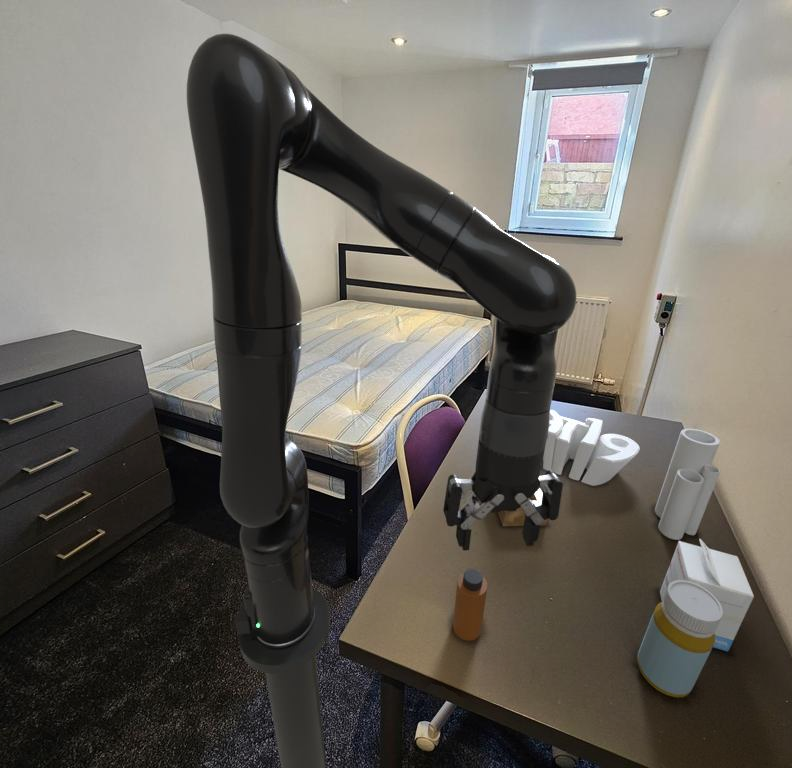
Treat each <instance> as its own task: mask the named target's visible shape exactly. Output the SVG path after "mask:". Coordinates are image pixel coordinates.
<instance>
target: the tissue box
mask: <svg viewBox="0 0 792 768" xmlns="http://www.w3.org/2000/svg"><path fill="white" fill-rule="evenodd" d="M698 540H699V544H700V545H697V544H693V543H688V542H685V541H681V540H678V542H677V544H676V548H675V550H674V553H673V555H672V558H671V561H670V563H669V566H668V568H667V571H666V574H665V577H664V579H663V582H662V585H661V588H660V590H659V595H660V600H661V602H662V601H663V599H664V595H665V592H666V590H667V587H668V585H669V584H670V583H671V582H673V581H675V580H686V581H690V582H693V583H696V584H698V585H700V586H702V587H703V588H705V589H706V590H708V591H709V592H710V593H712V594H713V595H714V596H715V597H716V598H717V600H718V601H719V602H720V604H721V606H722V609H723V616H722V619H721V621H720V623H719V625H718V627H717V629H716V631H715V643H714V646H713V648H714V649H718V650H721V651H724V652H729V651H730V649H731V647H732V644H733V642H734V640H735V638H736V637H737V634H738V631H739V629H740V628H741V625H742V624H743V621H744V619H745V617H746V615H747V613H748V611H749V608H750V606H751V604H752V602H753V600H754V597H755V595H754V593H753V590H752V587H751V586H750V583H749V581H748V578H747V576H746V574H745V573H746V572H745V571H744V568H743V566H742V564H741V561H740V559H739V557H738V556H737V555H734V554H730V553H727V552H723V551H719V550H716V549H712V548H709V547H708V546H707V545H706V543H705V542H704V541H703V540H702V539H701V538H698Z"/></svg>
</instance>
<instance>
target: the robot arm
mask: <svg viewBox="0 0 792 768" xmlns="http://www.w3.org/2000/svg"><path fill="white" fill-rule="evenodd" d="M187 72H188V73H187V78H186V79H187V80H186V109H187V117H188V123H189V130H190V136H191V142H192V146H193V152H194V157H195V163H196V168H197V175H198V179H199V185H200V192H201V198H202V204H203V210H204V217H205V227H206V228H205V229H206V238H207V250H208V251H207V252H208V259H209V270H210V280H211V281H210V282H211V296H212V297H211V298H212V299H211V300H212V322H213V335H214V349H215V355H216V365H217V378H218V381H217V382H218V393H219V394H218V395H219V405H220V416H221V454H220V469H219V496H220V501H221V503H222V505H223V508H224V510H225V511H226V513H227V514H228V515H229V517H230V518H232V520H234V521H235V522H236V523H238V524H239V525H240V529H239V533H238V534H239V535H238V536H239V546H240V551H241V556H242V562H243V568H244V573H245V579H246V580H245V581H246V585H247V586H246V588H245V591H244V594H243V598H242V601H241V604H240V607H239V609H238V613H237V614H236V616H235V617H234V619H233V622H232V626H233V628H234V629H235V630H236V632H237V635H238V634H250V636H251V640H257V641H259V642H260V644H262V645H263V646H265V647H267V648H270V649H285V648H289V647H291V646H293V645H295V644H297V643H299V642H300V641H301V640H303V639H304V638H305V637H306V636H307V635H308V633H309V632H310V630H311V629H312V627H313V624H314V620H315V610H314V603H313V593H312V588H313V584H312V573H311V564H310V563H311V562H310V551H309V550H310V549H309V539H308V522H309V521H308V520H309V515H310V497H309V496H310V495H309V494H310V493H309V477H308V475H309V474H308V467H307V462H306V459H305V456H304V454H303V453H304V452H302V450H301V449H300V447H299V446H298V445H297V444H296V443H295V442H294V441H293V440H291V439H289V438H288V437H287V436H286V432H287V424H288V419H289V415H290V411H291V407H292V403H293V398H294V395H295V390H296V385H297V381H298V377H299V372H300V371H299V370H300V365H301V357H302V336H303V334H302V333H303V330H302V328H303V311H302V307H303V306H302V299H301V294H300V290H299V287H298V283H297V280H296V277H295V273H294V271H293V267H292V266H291V263H290V260H289V257H288V254H287V251H286V249H285V245H284V242H283V237H282V233H281V227H280V219H279V174H280V173H279V172H280V171H283V172H285V173H287V174H289V175H293V176H295V177H297V178H299V179H302V180H303V181H306V182H308V183H311V184H312V185H315V186H316V187H319V188H320V189H322V190H323V191H326V192H327V193H329V194H331V195H332V196H334V197H335V198H337V199H339V200H340V201H341V202H343V203H344V204H345V205H347V206H348V207H350V208H351V209H352V210H353V211H354V212H356V213H357V214H358V215H359V216H360V217H361V218H363V219H364V220H365V221H366V222H367V224H369V225H370V226H372V227H373V228H374V229H375V230H376V231H377V232H378V233H379V234H380V235H381V236H383V237H384V238H385V239H386V240H388V242H390V243H392V244H393V245H394V246H395V247H397V249H399V250H401V251H402V252H403V253H404V254H406V255H408V256H410V257H411V258H413V259H414V260H416V261H417V262H418V263H420V264H422V265H424V266H425V267H427V268H428V269H429V270H431V271H433V272H434V273H437V275H439V276H440V277H443V278H444V279H446V280H448V281H449V282H452V283H453V284H454V285H456V286H457V287H459V288H460V289H461V290H462V291H463V292H464V293H465V294H467V295H468V297H470V299H472V300H473V301H474V302H476V303H477V304H478V305H479V306H481V307H482V308H483V309H484V310H485V311H487V312H488V313H489V314H491V315H492V316H493V317H494V318H495V331H494V346H493V347H494V348H493V352H492V356H491V359H490V360H491V361H490V365H489V371H488V376H487V384H486V394H485V401H484V405H483V409H482V412H481V419H480V425H479V435H478V445H477V450H476V451H477V452H476V460H475V469H474V473H473V475H472V476H471V478H459V477H458V475H457V474H450V475H449V476H448V478H447V483H446V491H445V496H444V501H443V502H444V503H443V508H442V509H443V511H442V512H443V514H444V517H445V523H446V526H448V527H454V526H456V529H455V530H456V531H455V538H456V541H457V544H458V547H461V548H462V551H463V552H464V551H466V552H467V551H470V546H471V537H472V526H474V524H475V523H476V522H477V521H478V520H479V521H482V520H483V519H484V518H485V517H486V516H487V515H489V513H490V512H491V513H498V512H500V511H504V510H505V511H516V509H518V508H520V507H522V509H523V510H524V511H525V512H526V515H525V520H524V526H522V533H521V537H522V539H523V541H524V543H525V546H526V547H533V546H534V543H536V542H537V541H538V539H539V537H540V531H541V524H542V523H543V522H544V520H546V519H547V520H550V521H556V520H557V519H558V518H559V513H560V508H561V507H560V506H561V502H562V501H561V500H562V494H563V487H564V483H563V482H562V480H561V479H560V478H559V476H558V474H556V473H555V472H554V471H553V470H549V471H548V470H546V472H545V474H544V475H541V471H542V467H543V462H544V461H543V456H544V451H545V446H546V440H547V438H548V430H549V421H550V410H551V406H552V400H553V396H554V391H555V385H556V384H555V383H556V379H557V359H556V349H555V348H556V342H557V337H558V333H559V330H560V329H561V328H562V327H564V325H566V324H567V322H568V321H569V320H570V319H571V317H572V316H573V314H574V312H575V308H576V303H577V288H576V284H575V282H574V279H573V277H572V276H571V274H570V272H569V271H568V270H567V269H566V268H565V267H564V266H563V265H562V264H560V263H559V262H558V260H556V259H554V258H552V257H551V256H549V255H546V254H543V253H540V252H538V251H537V250H535V249H533V248H532V247H530V246H529V245H527V244H526V243H524V242H522V241H521V240H519V239H517V238H515V237H513V236H512V235H511V234H509V233H507V232H505V231H504V230H502V229H501V228H500V227H499V226H498V225H497V224H496V223H495V222H494V221H493V220H492V219H490V218H489V217H488V216H487V215H486V214H485V213H484V212H482V211H481V210H479V209H478V208H476V207H475V206H473V205H472V204H471V203H469V202H468V201H466V200H465V199H463V198H461V197H460V196H459V195H457V194H455V193H454V192H452V191H451V190H449V189H448V188H446V187H445V186H443V185H442V184H440V183H439V182H437V181H435V180H433V179H432V178H431V177H428V176H427V175H425V174H423V173H421V172H420V171H418V170H416V169H414V168H412V167H411V166H409V165H408V164H405V163H404V162H402V161H401V160H399V159H397V158H395V157H393V156H391V155H390V154H388V153H386V152H385V151H383V150H381V149H380V148H378V147H377V146H375V145H374V144H372V143H371V142H369V141H368V140H367V139H365V138H364V137H362V136H361V135H359V134H358V133H357V132H355V130H353V129H352V128H351V127H350V126H348V125H347V124H346V123H345V122H344V121H342V120H341V119H340V118H339V117H338V116H337V115H336V114H335V113H334V112H332V110H330V109H329V108H328V107H327V106H326V105H325V104H324V103H323V102H322V100H320V99H319V98H318V97H317V96H316V95H315V94H314V93H312V91H311V90H310V89H308V88H307V87H306V85H305V84H304V83H303V82H302V81H301V80H300V78H299V77H298V76H297V74H296V73H295V72H294V71H292V70H291V69H290V68H288V66H287V65H285V64H283V63H282V62H280V61H279V60H278V59H277V58H275V57H274V56H272V55H271V54H269V53H268V52H266V51H265V50H263V48H261V47H260V46H258V45H257V44H255V43H253V42H252V41H249V40H247V39H246V38H243V37H242V36H240V35H235V34H233V33H218V34H214V35H212V36H210V37H208V38H207V39H205V41H203V42H202V43H201V44H200V45H199V46H198V48H197V49H196V51H195V53H193V57H192V58H191V61H190V65H189V67H188V71H187ZM539 488H540V489H541V490H542V493H543V496H542V503H541V505H540V506H537V507H536V506H535V504H534V503H533V502H532V500H531V499H530V498H531V497H532V496H533V495H534V494H535V493H536V492H537V491H538V490H539ZM469 491H472V492H471V493H470V494H469V495H468V496H467V498H466V497H465V496H466V495H467V493H468V492H469ZM465 498H466V501H465V502H464V503H463V504H462V506H461V507H460V505H461V500H464V499H465ZM480 503H481V505H480Z"/></svg>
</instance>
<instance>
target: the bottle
mask: <svg viewBox="0 0 792 768" xmlns="http://www.w3.org/2000/svg"><path fill="white" fill-rule="evenodd" d="M722 616H723V609H722V606H721V604H720V602H719V601H718V600H717V598H716V597H715V596H714V595H713V594H712V593H710V592H709V591H708V590H706V589H705V588H703V587H702V586H700V585H698V584H696V583H693V582H690V581H686V580H675V581H673V582H671V583H670V584H669V585H668V587H667V590H666V592H665V595H664V599H663V601H662V600H661V601H660V602H659V603H658V604H657V605H656V606H655V608H654V610H653V613H652V615H651V617H650V620H649V623H648V625H647V628H646V631H645V634H644V637H643V639H642V641H641V643H640V647H639V649H638V651H637V656H636V663H637V668H638V669H639V671H640V674H641V675H642V677H643V678H644V679H645V680H646V681H647V682H648V684H649V685H650V686H652V687H653V689H654V688H655V690H656V691H658V692H660V693H662V694H663V695H666V696H669V697H672V698H685V697H686V696H689V694H690V693H691V692H692V690H693V688H694V687H695V684H696V682H697V680H698V678H699V677H700V675H701V672H702V670H703V668H704V666H705V664H706V662H707V660H708V659H709V656H710V654H711V652H712V650H713V648H714V647H713V646H714V643H715V631H716V629H717V627H718V625H719V623H720V621H721V619H722Z"/></svg>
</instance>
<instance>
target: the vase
mask: <svg viewBox="0 0 792 768" xmlns="http://www.w3.org/2000/svg"><path fill="white" fill-rule="evenodd" d="M720 443H721V441H720V439H719V438H718V437H717V436H716V435H714V434H712V433H710V432H708V431H705V430H701V429H697V428H683V429H682V430H680V433H679V435H678V439H677V441H676V444H675V448H674V450H673V453H672V456H671V460H670V462H669V466H668V469H667V472H666V475H665V477H664V481H663V484H662V486H661V490H660V493H659V496H658V498H657V502H656V504H655V508H654V513H655V514H656V516H657V517H658V518H660V519H659V523H658V530H659V532H660V533H661V534H662V535H663V536H664V537H666V538H668V539H670V540H675V541H676V540H677V541H681V540H682V539H683V537H684V534H687V535H688V536H695V535H696V534H697V532H698V529H699V527H700V524H701V521H702V519H703V517H704V514H705V511H706V509H707V507H708V504H709V502H710V499H711V497H712V494H713V492H714V489H715V487H716V484H717V481H718V479H719V477H720V474H721V469H720V468H718V466H716V465H713V462H714V459H715V456H716V454H717V452H718V449H719V446H720Z"/></svg>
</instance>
